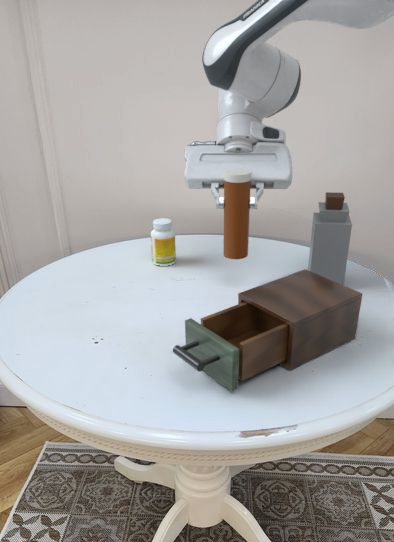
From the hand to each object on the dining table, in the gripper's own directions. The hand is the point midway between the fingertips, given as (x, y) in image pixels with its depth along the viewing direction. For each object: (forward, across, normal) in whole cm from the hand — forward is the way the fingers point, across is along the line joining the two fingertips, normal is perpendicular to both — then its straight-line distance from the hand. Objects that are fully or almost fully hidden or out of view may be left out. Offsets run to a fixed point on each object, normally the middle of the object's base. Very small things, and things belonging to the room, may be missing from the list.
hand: (236, 207), depth 99 cm
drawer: (+31, 0, -9) cm, 32 cm away
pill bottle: (+6, 0, +7) cm, 10 cm away
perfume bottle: (+9, +18, +15) cm, 25 cm away
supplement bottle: (+3, -16, +21) cm, 27 cm away
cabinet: (+25, +11, -2) cm, 28 cm away
